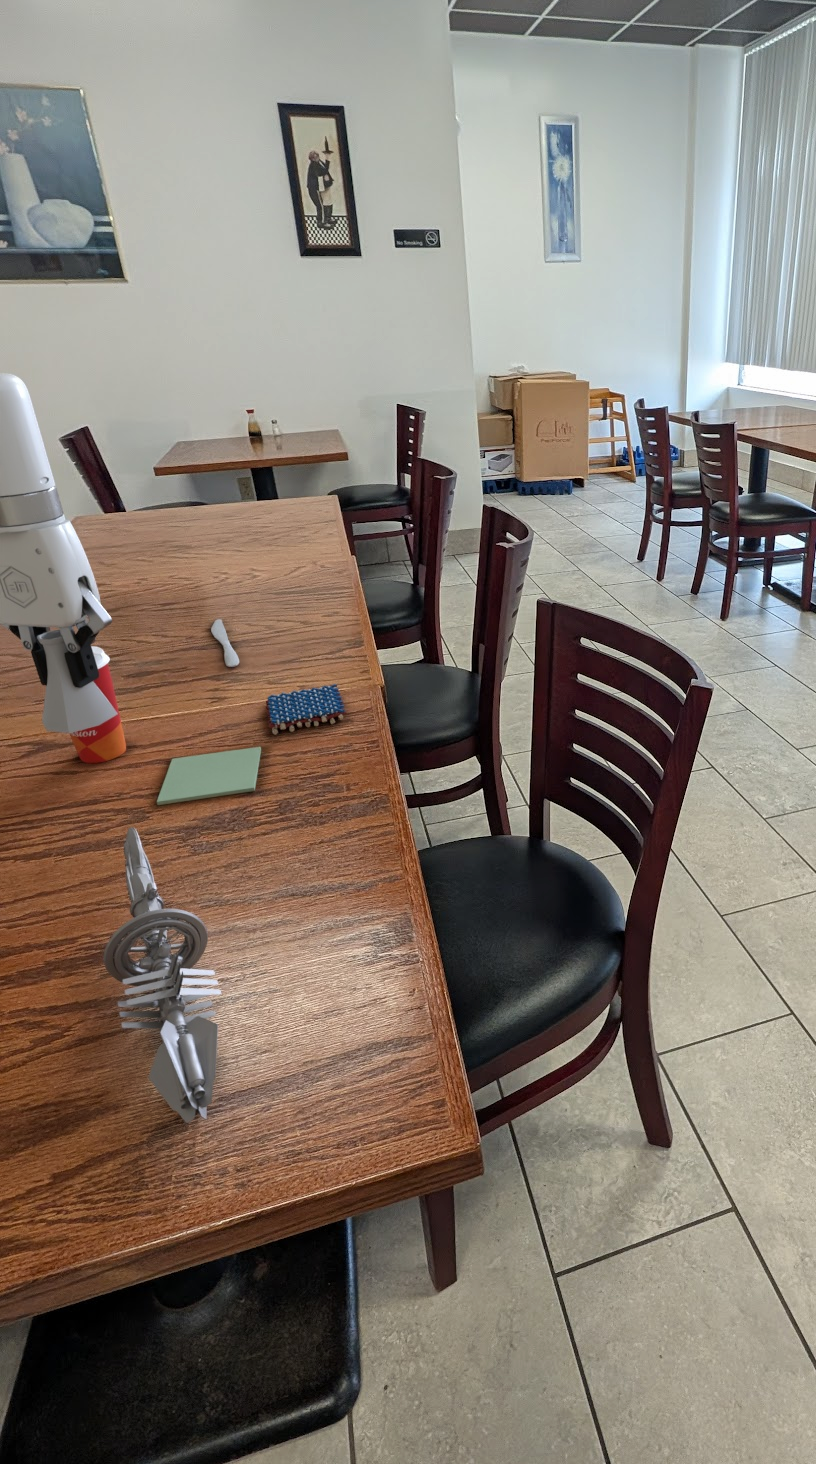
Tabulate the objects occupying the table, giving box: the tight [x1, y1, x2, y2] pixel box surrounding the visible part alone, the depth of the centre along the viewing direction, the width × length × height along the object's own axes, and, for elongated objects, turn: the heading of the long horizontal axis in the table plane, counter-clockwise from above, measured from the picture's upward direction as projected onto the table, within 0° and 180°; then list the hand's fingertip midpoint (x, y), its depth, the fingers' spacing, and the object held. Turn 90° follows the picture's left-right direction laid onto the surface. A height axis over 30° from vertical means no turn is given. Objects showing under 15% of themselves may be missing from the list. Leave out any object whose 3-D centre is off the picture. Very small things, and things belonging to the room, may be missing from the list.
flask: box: [37, 629, 118, 734], centre depth 88 cm, size 7×7×10 cm
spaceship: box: [103, 826, 222, 1124], centre depth 69 cm, size 8×35×8 cm
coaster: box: [156, 746, 262, 806], centre depth 103 cm, size 11×11×1 cm
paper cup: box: [68, 645, 127, 764], centre depth 106 cm, size 8×8×14 cm
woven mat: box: [265, 683, 347, 736], centre depth 118 cm, size 10×11×2 cm
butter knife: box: [210, 618, 240, 668], centre depth 145 cm, size 1×27×3 cm
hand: (71, 680), depth 88 cm, fingers closed on flask, 3 cm apart
